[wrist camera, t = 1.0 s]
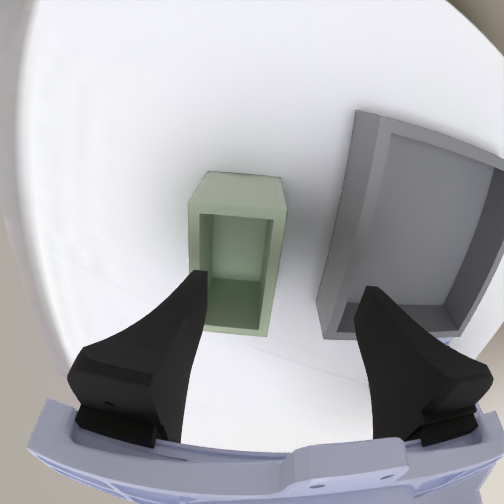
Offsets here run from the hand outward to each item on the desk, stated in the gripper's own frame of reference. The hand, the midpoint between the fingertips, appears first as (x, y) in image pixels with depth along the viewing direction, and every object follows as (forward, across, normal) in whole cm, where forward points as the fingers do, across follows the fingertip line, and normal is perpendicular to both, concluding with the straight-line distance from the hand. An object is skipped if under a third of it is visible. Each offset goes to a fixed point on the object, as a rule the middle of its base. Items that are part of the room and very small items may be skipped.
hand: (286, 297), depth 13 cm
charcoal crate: (+10, -11, 0) cm, 15 cm away
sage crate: (+10, +3, +2) cm, 10 cm away
